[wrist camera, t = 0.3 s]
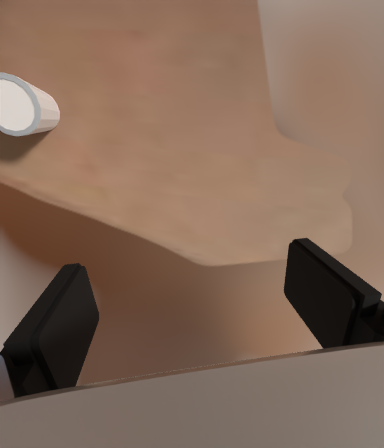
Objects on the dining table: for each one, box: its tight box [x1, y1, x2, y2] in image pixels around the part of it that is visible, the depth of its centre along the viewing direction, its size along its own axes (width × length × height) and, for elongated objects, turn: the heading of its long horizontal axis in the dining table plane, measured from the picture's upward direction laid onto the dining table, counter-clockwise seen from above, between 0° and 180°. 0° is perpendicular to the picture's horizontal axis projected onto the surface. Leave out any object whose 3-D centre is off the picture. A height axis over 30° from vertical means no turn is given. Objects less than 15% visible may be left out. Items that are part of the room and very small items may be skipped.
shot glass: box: [0, 72, 60, 136], centre depth 30 cm, size 7×7×7 cm
